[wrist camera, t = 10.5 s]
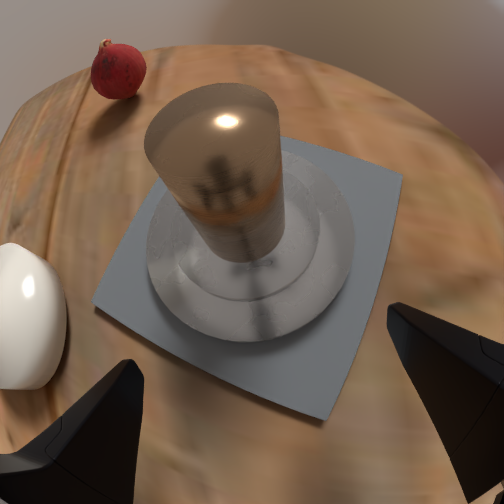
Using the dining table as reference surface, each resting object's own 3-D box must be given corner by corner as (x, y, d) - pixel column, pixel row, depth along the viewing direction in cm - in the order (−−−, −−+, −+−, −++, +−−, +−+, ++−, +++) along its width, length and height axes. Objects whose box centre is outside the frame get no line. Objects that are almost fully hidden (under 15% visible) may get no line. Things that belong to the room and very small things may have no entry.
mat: (324, 418, 13) (326, 420, 12) (96, 303, 17) (90, 301, 16) (400, 179, 17) (402, 174, 17) (201, 124, 21) (199, 119, 21)
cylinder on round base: (236, 387, 13) (165, 425, 5) (123, 237, 18) (35, 159, 9) (390, 239, 15) (459, 135, 7) (256, 131, 19) (236, 23, 11)
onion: (151, 104, 24) (119, 42, 16) (103, 121, 24) (67, 67, 17) (159, 75, 26) (135, 20, 18) (116, 90, 26) (88, 41, 19)
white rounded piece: (50, 417, 14) (13, 420, 10) (-8, 342, 17) (-38, 335, 13) (94, 294, 17) (56, 278, 13) (28, 243, 20) (-1, 225, 16)
